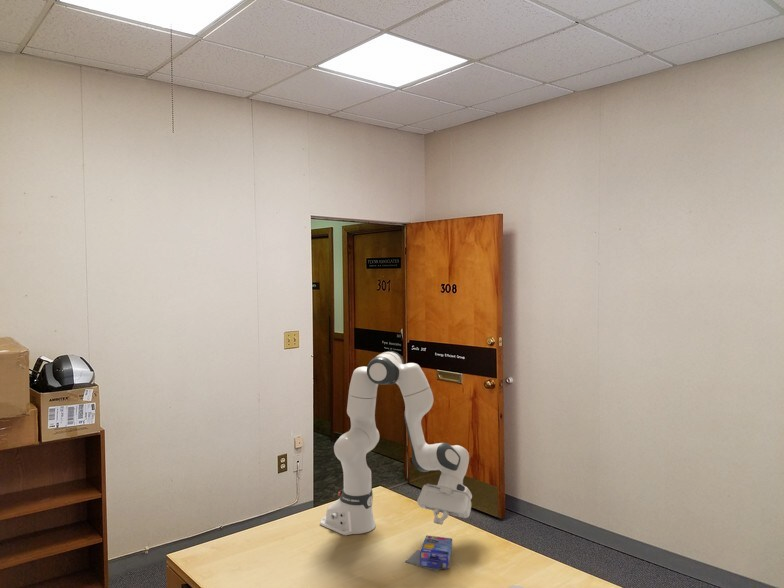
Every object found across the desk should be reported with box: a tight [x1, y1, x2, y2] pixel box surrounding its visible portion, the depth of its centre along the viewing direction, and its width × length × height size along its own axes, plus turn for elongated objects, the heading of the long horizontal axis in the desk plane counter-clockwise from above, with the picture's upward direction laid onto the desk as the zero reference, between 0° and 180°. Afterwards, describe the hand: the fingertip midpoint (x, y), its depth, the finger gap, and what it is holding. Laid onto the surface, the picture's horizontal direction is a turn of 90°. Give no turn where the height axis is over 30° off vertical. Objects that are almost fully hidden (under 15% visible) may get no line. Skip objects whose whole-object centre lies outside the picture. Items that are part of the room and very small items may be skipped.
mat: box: [405, 549, 441, 572], centre depth 192 cm, size 12×9×1 cm
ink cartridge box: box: [419, 534, 453, 570], centre depth 191 cm, size 10×6×14 cm
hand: (437, 523), depth 199 cm, fingers closed
